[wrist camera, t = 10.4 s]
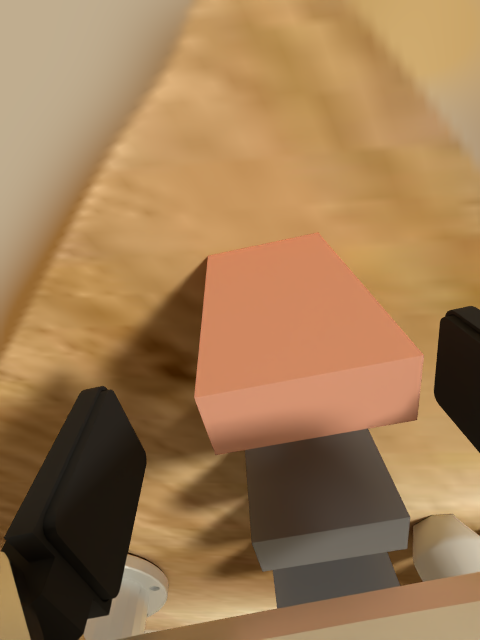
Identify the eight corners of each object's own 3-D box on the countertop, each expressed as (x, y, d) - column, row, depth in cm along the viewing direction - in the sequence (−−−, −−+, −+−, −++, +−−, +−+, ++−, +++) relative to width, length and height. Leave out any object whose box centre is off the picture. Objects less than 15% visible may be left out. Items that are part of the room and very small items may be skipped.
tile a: (246, 392, 19) (262, 571, 12) (238, 365, 18) (251, 543, 11) (331, 375, 19) (407, 548, 11) (329, 347, 18) (410, 517, 10)
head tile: (218, 294, 16) (215, 454, 8) (208, 255, 15) (194, 397, 7) (321, 273, 16) (417, 419, 8) (318, 232, 15) (424, 355, 7)
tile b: (262, 452, 22) (284, 628, 15) (257, 432, 21) (277, 610, 14) (337, 438, 22) (401, 612, 14) (335, 417, 21) (402, 592, 13)
